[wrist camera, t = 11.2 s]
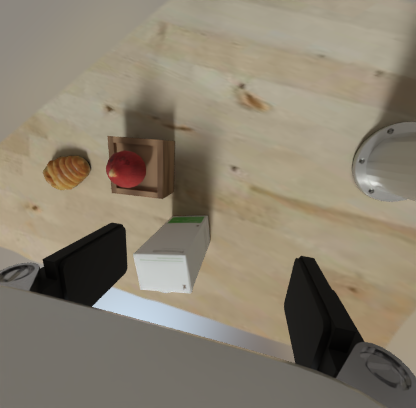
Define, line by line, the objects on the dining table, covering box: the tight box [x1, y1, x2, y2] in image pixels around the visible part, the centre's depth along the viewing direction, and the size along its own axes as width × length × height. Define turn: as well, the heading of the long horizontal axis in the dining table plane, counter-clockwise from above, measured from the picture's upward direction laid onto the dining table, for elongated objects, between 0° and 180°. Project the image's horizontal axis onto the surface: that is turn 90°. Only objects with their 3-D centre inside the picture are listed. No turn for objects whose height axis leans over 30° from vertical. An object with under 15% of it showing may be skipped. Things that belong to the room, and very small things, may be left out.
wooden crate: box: [108, 136, 175, 199], centre depth 36 cm, size 10×10×6 cm
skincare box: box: [133, 216, 210, 293], centre depth 34 cm, size 8×7×16 cm
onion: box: [106, 150, 146, 188], centre depth 31 cm, size 6×6×8 cm
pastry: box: [43, 156, 90, 190], centre depth 41 cm, size 9×7×4 cm
